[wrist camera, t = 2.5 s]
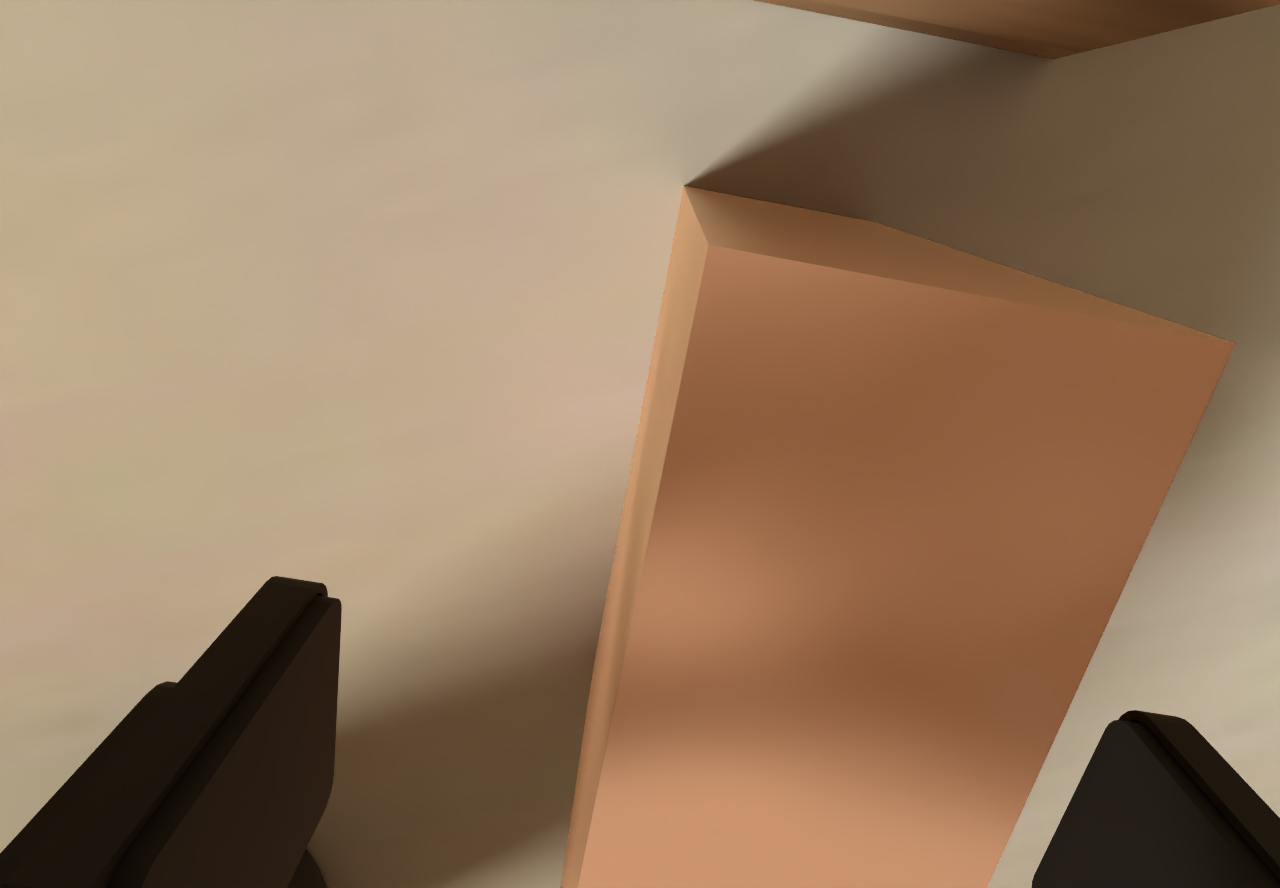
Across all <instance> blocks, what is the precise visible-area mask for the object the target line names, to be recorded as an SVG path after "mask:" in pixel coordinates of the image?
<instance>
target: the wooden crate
mask: <svg viewBox="0 0 1280 888" xmlns="http://www.w3.org/2000/svg"><path fill="white" fill-rule="evenodd" d="M756 1H761V2H766V3H771V4H776V5H781V6H786V7H791V8H797V9H802V10H807V11H812V12H817V13H822V14H827V15H832V16H837V17H842V18H848V19H853V20H858V21H863V22H868V23H873V24H878V25H883V26H888V27H893V28H898V29H904V30H909V31H914V32H919V33H924V34H929V35H934V36H939V37H944V38H949V39H954V40H960V41H965V42H970V43H975V44H980V45H985V46H990V47H995V48H1000V49H1005V50H1010V51H1016V52H1021V53H1026V54H1031V55H1036V56H1041V57H1046V58H1051V59H1056V58H1060V57H1065V56H1069V55H1073V54H1077V53H1081V52H1085V51H1089V50H1093V49H1097V48H1101V47H1105V46H1109V45H1114V44H1118V43H1122V42H1126V41H1130V40H1134V39H1138V38H1142V37H1146V36H1150V35H1154V34H1158V33H1162V32H1167V31H1171V30H1175V29H1179V28H1183V27H1187V26H1191V25H1195V24H1199V23H1203V22H1207V21H1211V20H1215V19H1220V18H1224V17H1228V16H1232V15H1236V14H1240V13H1244V12H1248V11H1252V10H1256V9H1260V8H1264V7H1269V6H1273V5H1277V4H1280V0H756Z"/></svg>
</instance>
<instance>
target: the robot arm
mask: <svg viewBox="0 0 1280 888" xmlns="http://www.w3.org/2000/svg"><path fill="white" fill-rule="evenodd" d="M340 632H341V602H340V600H339V599H337V598H330V597H328V593H327V589H326V586H325V585H324V584H323V583H317V582H311V581H304V580H298V579H291V578H285V577H279V576H275V577H271V578H270V579H269V580H268V581H267V582H266V583H265V584H264V585H263V586H262V587H261V588H260V590H259V591H258V592H257V593H256V594H255V595H254V596H253V598H252V599H251V600H250V601H249V602H248V603H247V604H246V606H245V607H244V608H243V609H242V610H241V611H240V612H239V614H238V615H237V616H236V617H235V618H234V619H233V620H232V622H231V623H230V624H229V625H228V626H227V627H226V628H225V630H224V631H223V632H222V633H221V634H220V635H219V636H218V638H217V639H216V640H215V641H214V642H213V643H212V644H211V646H210V647H209V648H208V649H207V650H206V651H205V652H204V654H203V655H202V656H201V657H200V658H199V659H198V660H197V661H196V663H195V664H194V665H193V666H192V667H191V668H190V669H189V671H188V672H187V673H186V674H185V675H184V676H183V677H182V679H181V680H180V681H179V682H178V683H174V682H164V683H161V684H159V685H157V686H155V687H154V688H153V689H152V690H151V691H150V692H149V693H147V694H146V695H145V696H144V697H143V698H142V699H141V701H140V702H139V703H138V704H137V705H136V706H135V707H134V708H133V709H132V710H131V711H130V713H129V714H128V715H127V716H126V717H125V718H124V719H123V720H122V721H121V722H120V723H119V725H118V726H117V727H116V728H115V729H114V730H113V731H112V732H111V733H110V734H109V736H108V737H107V738H106V739H105V740H104V741H103V742H102V743H101V744H100V745H99V746H98V748H97V749H96V750H95V751H94V752H93V753H92V754H91V755H90V756H89V757H88V758H87V760H86V761H85V762H84V763H83V764H82V765H81V766H80V767H79V768H78V769H77V770H76V772H75V773H74V774H73V775H72V776H71V777H70V778H69V779H68V780H67V781H66V782H65V784H64V785H63V786H62V787H61V788H60V789H59V790H58V791H57V792H56V793H55V794H54V796H53V797H52V798H51V799H50V800H49V801H48V802H47V803H46V804H45V805H44V806H43V808H42V809H41V810H40V811H39V812H38V813H37V814H36V815H35V816H34V817H33V819H32V820H31V821H30V822H29V823H28V824H27V825H26V826H25V827H24V828H23V829H22V831H21V832H20V833H19V834H18V835H17V836H16V837H15V838H14V839H13V840H12V841H11V843H10V844H9V845H8V846H7V847H6V848H5V849H4V850H3V851H2V852H1V853H0V888H287V886H288V884H289V882H290V880H291V878H292V876H293V874H294V872H295V870H296V868H297V866H298V864H299V862H300V860H301V858H302V856H303V854H304V851H305V849H306V847H307V845H308V843H309V841H310V839H311V837H312V835H313V833H314V831H315V829H316V827H317V825H318V823H319V821H320V819H321V817H322V815H323V812H324V810H325V808H326V805H327V802H328V799H329V796H330V793H331V789H332V784H333V776H334V758H335V737H336V716H337V695H338V674H339V653H340ZM1032 888H1280V818H1279V817H1278V816H1277V815H1276V814H1275V813H1274V812H1273V811H1272V809H1271V808H1270V807H1269V806H1268V805H1267V804H1266V803H1265V802H1264V801H1263V800H1262V799H1261V798H1260V797H1259V796H1258V795H1257V794H1256V792H1255V791H1254V790H1253V789H1252V788H1251V787H1250V786H1249V785H1248V784H1247V783H1246V782H1245V781H1244V780H1243V779H1242V778H1241V777H1240V775H1239V774H1238V773H1237V772H1236V771H1235V770H1234V769H1233V768H1232V767H1231V766H1230V765H1229V764H1228V763H1227V762H1226V761H1225V759H1224V758H1223V757H1222V756H1221V755H1220V754H1219V753H1218V752H1217V751H1216V750H1215V749H1214V748H1213V747H1212V746H1211V745H1210V744H1209V742H1208V741H1207V740H1206V739H1205V738H1204V737H1203V736H1202V735H1201V734H1200V733H1199V732H1198V731H1197V730H1196V729H1195V728H1194V727H1193V726H1192V725H1191V724H1190V723H1189V722H1187V721H1186V720H1185V719H1182V718H1179V717H1175V716H1168V715H1162V714H1156V713H1149V712H1143V711H1136V710H1134V711H1128V712H1126V713H1125V714H1123V715H1122V716H1121V717H1120V718H1119V720H1116V721H1113V722H1111V723H1110V724H1109V725H1108V726H1107V728H1106V729H1105V731H1104V733H1103V735H1102V737H1101V739H1100V741H1099V743H1098V745H1097V747H1096V749H1095V752H1094V754H1093V756H1092V758H1091V760H1090V762H1089V764H1088V766H1087V768H1086V770H1085V772H1084V774H1083V776H1082V778H1081V780H1080V782H1079V784H1078V786H1077V789H1076V791H1075V793H1074V795H1073V797H1072V799H1071V801H1070V803H1069V805H1068V807H1067V809H1066V811H1065V813H1064V815H1063V817H1062V819H1061V821H1060V823H1059V826H1058V828H1057V830H1056V832H1055V834H1054V836H1053V838H1052V840H1051V842H1050V844H1049V846H1048V848H1047V850H1046V852H1045V854H1044V856H1043V858H1042V860H1041V862H1040V865H1039V867H1038V869H1037V871H1036V873H1035V875H1034V878H1033V881H1032Z"/></svg>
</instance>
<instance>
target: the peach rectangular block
mask: <svg viewBox="0 0 1280 888" xmlns="http://www.w3.org/2000/svg"><path fill="white" fill-rule="evenodd" d="M1234 345H1235V343H1234V342H1231V341H1228V340H1225V339H1222V338H1219V337H1216V336H1213V335H1210V334H1207V333H1204V332H1201V331H1198V330H1195V329H1192V328H1189V327H1186V326H1183V325H1180V324H1177V323H1174V322H1171V321H1168V320H1165V319H1162V318H1159V317H1156V316H1153V315H1150V314H1147V313H1144V312H1141V311H1138V310H1135V309H1132V308H1129V307H1126V306H1123V305H1120V304H1117V303H1114V302H1111V301H1108V300H1105V299H1102V298H1099V297H1096V296H1094V295H1091V294H1088V293H1085V292H1082V291H1079V290H1076V289H1073V288H1070V287H1067V286H1064V285H1061V284H1058V283H1055V282H1052V281H1049V280H1046V279H1043V278H1040V277H1037V276H1034V275H1031V274H1028V273H1025V272H1022V271H1019V270H1016V269H1013V268H1010V267H1007V266H1004V265H1001V264H998V263H995V262H992V261H989V260H986V259H983V258H980V257H977V256H974V255H971V254H968V253H965V252H962V251H959V250H956V249H954V248H951V247H948V246H945V245H942V244H939V243H936V242H933V241H930V240H927V239H924V238H921V237H918V236H915V235H912V234H909V233H906V232H903V231H900V230H897V229H894V228H891V227H888V226H885V225H882V224H879V223H876V222H872V221H867V220H862V219H856V218H851V217H846V216H840V215H835V214H830V213H825V212H819V211H814V210H809V209H803V208H798V207H793V206H788V205H782V204H777V203H772V202H766V201H761V200H756V199H750V198H745V197H740V196H735V195H729V194H724V193H719V192H713V191H708V190H703V189H698V188H692V187H687V186H683V191H682V196H681V202H680V207H679V212H678V218H677V223H676V228H675V234H674V239H673V244H672V250H671V255H670V260H669V266H668V271H667V276H666V282H665V287H664V292H663V298H662V303H661V308H660V314H659V319H658V324H657V330H656V335H655V340H654V346H653V351H652V356H651V362H650V367H649V372H648V378H647V383H646V388H645V394H644V399H643V404H642V410H641V415H640V420H639V426H638V431H637V436H636V442H635V447H634V452H633V458H632V463H631V468H630V474H629V479H628V484H627V490H626V495H625V500H624V506H623V511H622V516H621V522H620V527H619V532H618V538H617V543H616V548H615V554H614V559H613V564H612V570H611V575H610V580H609V586H608V591H607V596H606V602H605V607H604V612H603V617H602V623H601V628H600V633H599V639H598V644H597V649H596V655H595V660H594V665H593V672H592V678H591V685H590V692H589V699H588V705H587V712H586V719H585V726H584V732H583V739H582V746H581V752H580V759H579V766H578V773H577V779H576V786H575V793H574V800H573V806H572V813H571V820H570V826H569V833H568V840H567V847H566V853H565V860H564V867H563V874H562V880H561V887H560V888H987V886H988V883H989V881H990V879H991V877H992V875H993V873H994V870H995V868H996V866H997V864H998V862H999V859H1000V857H1001V855H1002V853H1003V851H1004V848H1005V846H1006V844H1007V842H1008V840H1009V838H1010V835H1011V833H1012V831H1013V829H1014V827H1015V824H1016V822H1017V820H1018V818H1019V816H1020V813H1021V811H1022V809H1023V807H1024V805H1025V803H1026V800H1027V798H1028V796H1029V794H1030V792H1031V789H1032V787H1033V785H1034V783H1035V781H1036V778H1037V776H1038V774H1039V772H1040V770H1041V768H1042V765H1043V763H1044V761H1045V759H1046V757H1047V754H1048V752H1049V750H1050V748H1051V746H1052V743H1053V741H1054V739H1055V737H1056V735H1057V733H1058V730H1059V728H1060V726H1061V724H1062V722H1063V719H1064V717H1065V715H1066V713H1067V711H1068V708H1069V706H1070V704H1071V702H1072V700H1073V698H1074V695H1075V693H1076V691H1077V689H1078V687H1079V684H1080V682H1081V680H1082V678H1083V676H1084V673H1085V671H1086V669H1087V667H1088V665H1089V663H1090V660H1091V658H1092V656H1093V654H1094V652H1095V649H1096V647H1097V645H1098V643H1099V641H1100V638H1101V636H1102V634H1103V632H1104V630H1105V628H1106V625H1107V623H1108V621H1109V619H1110V617H1111V614H1112V612H1113V610H1114V608H1115V606H1116V603H1117V601H1118V599H1119V597H1120V595H1121V593H1122V590H1123V588H1124V586H1125V584H1126V582H1127V579H1128V577H1129V575H1130V573H1131V571H1132V569H1133V566H1134V564H1135V562H1136V560H1137V558H1138V555H1139V553H1140V551H1141V549H1142V547H1143V544H1144V542H1145V540H1146V538H1147V536H1148V534H1149V531H1150V529H1151V527H1152V525H1153V523H1154V520H1155V518H1156V516H1157V514H1158V512H1159V509H1160V507H1161V505H1162V503H1163V501H1164V499H1165V496H1166V494H1167V492H1168V490H1169V488H1170V485H1171V483H1172V481H1173V479H1174V477H1175V474H1176V472H1177V470H1178V468H1179V466H1180V464H1181V461H1182V459H1183V457H1184V455H1185V453H1186V450H1187V448H1188V446H1189V444H1190V442H1191V439H1192V437H1193V435H1194V433H1195V431H1196V429H1197V426H1198V424H1199V422H1200V420H1201V418H1202V415H1203V413H1204V411H1205V409H1206V407H1207V404H1208V402H1209V400H1210V398H1211V396H1212V394H1213V391H1214V389H1215V387H1216V385H1217V383H1218V380H1219V378H1220V376H1221V374H1222V372H1223V369H1224V367H1225V365H1226V363H1227V361H1228V359H1229V356H1230V354H1231V352H1232V350H1233V348H1234Z"/></svg>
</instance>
